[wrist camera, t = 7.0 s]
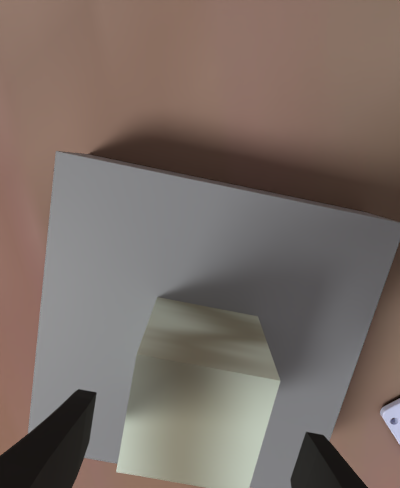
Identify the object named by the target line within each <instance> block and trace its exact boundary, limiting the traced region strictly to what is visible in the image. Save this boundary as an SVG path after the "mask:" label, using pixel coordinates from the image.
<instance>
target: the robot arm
mask: <svg viewBox="0 0 400 488" xmlns="http://www.w3.org/2000/svg"><path fill="white" fill-rule="evenodd" d="M96 394H97V392H92V391H86V390H81V389H78V390H77V391H75V392H74V393H73V394H72V395H71V396H70V397H69V398H68V399H67V400H66V401H65V402H64V403H63V404H61V405H60V406H59V407H58V408H57V409H56V410H55V411H54V412H53V413H52V414H51V415H49V416H48V417H47V418H46V419H45V420H44V421H43V422H41V423H40V424H39V425H38V426H37V427H36V428H34V429H33V430H32V431H31V432H30V433H29V434H27V435H26V436H25V437H24V438H22V439H21V440H20V441H19V442H17V443H16V444H15V445H13V446H12V447H11V448H10V449H8V450H7V451H6V452H4V453H3V454H2V455H1V456H0V488H72V486H73V484H74V482H75V479H76V477H77V475H78V472H79V469H80V467H81V464H82V461H83V459H84V456H85V453H86V450H87V447H88V445H89V441H90V434H91V427H92V421H93V414H94V408H95V401H96ZM380 414H381V416H382V418H383V419H384V421H385V422H386V424H387V426H388V427H389V429H390V430H391V432H392V433H393V435H394V437H395V438H396V440H397V441H398V443H399V445H400V398H399V399H397V400H395V401H394V402H392V403H390V404H388V405H386V406H384V407H383V408H382V409H381V411H380ZM392 418H394V419H393V420H391V419H392ZM290 481H291V488H368V487H367V486H366V485H365V484H364V483H363V481H362V480H361V479H360V478H359V477H358V475H357V474H356V473H355V472H354V471H353V469H352V468H351V467H350V466H349V465H348V463H347V462H346V461H345V460H344V459H343V457H342V456H341V455H340V454H339V452H338V451H337V450H336V449H335V448H334V446H333V445H332V444H331V443H330V442H329V441H328V439H327V438H326V437H325V436H324V435H321V434H316V433H311V432H306V433H305V436H304V439H303V442H302V445H301V448H300V452H299V455H298V458H297V461H296V464H295V467H294V470H293V473H292V476H291V479H290Z"/></svg>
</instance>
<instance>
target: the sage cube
mask: <svg viewBox="0 0 400 488" xmlns="http://www.w3.org/2000/svg"><path fill="white" fill-rule="evenodd" d="M279 384H280V378H279V375H278V372H277V369H276V367H275V364H274V361H273V358H272V355H271V352H270V349H269V347H268V344H267V341H266V338H265V335H264V332H263V329H262V327H261V324H260V321H259V318H258V316H254V315H248V314H243V313H238V312H233V311H227V310H222V309H217V308H212V307H207V306H201V305H196V304H191V303H186V302H181V301H175V300H170V299H165V298H160V297H157V299H156V302H155V305H154V307H153V310H152V313H151V316H150V318H149V321H148V324H147V327H146V330H145V332H144V335H143V338H142V341H141V343H140V346H139V349H138V352H137V355H136V361H135V366H134V372H133V378H132V384H131V389H130V395H129V401H128V407H127V413H126V418H125V424H124V430H123V436H122V441H121V447H120V453H119V459H118V464H117V470H116V472H120V473H125V474H131V475H137V476H143V477H148V478H154V479H160V480H166V481H171V482H177V483H183V484H189V485H194V486H200V487H206V488H249V487H250V483H251V480H252V477H253V473H254V470H255V466H256V463H257V460H258V456H259V453H260V449H261V446H262V442H263V439H264V436H265V432H266V429H267V425H268V422H269V419H270V415H271V412H272V408H273V405H274V401H275V398H276V395H277V391H278V388H279Z"/></svg>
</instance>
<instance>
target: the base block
mask: <svg viewBox="0 0 400 488" xmlns="http://www.w3.org/2000/svg"><path fill="white" fill-rule="evenodd" d="M399 242H400V222H398V221H394V220H391V219H387V218H384V217H380V216H377V215H374V214H370V213H367V212H363V211H358V210H353V209H348V208H344V207H339V206H334V205H329V204H324V203H320V202H315V201H310V200H305V199H300V198H296V197H291V196H286V195H281V194H276V193H272V192H267V191H262V190H257V189H252V188H248V187H243V186H238V185H233V184H228V183H224V182H219V181H214V180H209V179H204V178H200V177H195V176H190V175H185V174H180V173H176V172H171V171H166V170H161V169H156V168H152V167H147V166H142V165H137V164H132V163H128V162H123V161H118V160H113V159H108V158H104V157H99V156H94V155H89V154H81V153H70V152H60V151H56V157H55V167H54V177H53V187H52V197H51V207H50V217H49V227H48V237H47V247H46V257H45V268H44V278H43V288H42V298H41V308H40V318H39V328H38V338H37V348H36V358H35V368H34V379H33V389H32V399H31V409H30V419H29V429H28V434H29V433H30V432H31V431H32V430H33V429H34V428H36V427H37V426H38V425H39V424H40V423H41V422H43V421H44V420H45V419H46V418H47V417H48V416H49V415H51V414H52V413H53V412H54V411H55V410H56V409H57V408H58V407H59V406H60V405H61V404H63V403H64V402H65V401H66V400H67V399H68V398H69V397H70V396H71V395H72V394H73V393H74V392H75V391H77V390H78V389H81V390H86V391H92V392H97V394H96V401H95V408H94V414H93V421H92V427H91V434H90V441H89V445H88V447H87V450H86V453H85V456H84V458H89V459H94V460H100V461H105V462H111V463H117V464H118V459H119V453H120V447H121V441H122V436H123V430H124V424H125V418H126V413H127V407H128V401H129V395H130V389H131V384H132V378H133V372H134V366H135V361H136V355H137V352H138V349H139V346H140V343H141V341H142V338H143V335H144V332H145V330H146V327H147V324H148V321H149V318H150V316H151V313H152V310H153V307H154V305H155V302H156V299H157V297H160V298H165V299H170V300H175V301H181V302H186V303H191V304H196V305H201V306H207V307H212V308H217V309H222V310H227V311H233V312H238V313H243V314H248V315H254V316H258V318H259V321H260V324H261V327H262V329H263V332H264V335H265V338H266V341H267V344H268V347H269V349H270V352H271V355H272V358H273V361H274V364H275V367H276V369H277V372H278V375H279V378H280V384H279V388H278V391H277V395H276V398H275V401H274V405H273V408H272V412H271V415H270V419H269V422H268V425H267V429H266V432H265V436H264V439H263V442H262V446H261V449H260V453H259V456H258V460H257V463H256V466H255V470H254V473H253V477H252V480H251V483H250V487H251V488H291V481H290V479H291V476H292V473H293V470H294V467H295V464H296V461H297V458H298V455H299V452H300V448H301V445H302V442H303V439H304V436H305V433H306V432H311V433H316V434H321V435H324V436H325V437H326V438H327V439H328V441H329V440H330V437H331V434H332V432H333V429H334V426H335V423H336V420H337V417H338V415H339V412H340V409H341V406H342V403H343V400H344V398H345V395H346V392H347V389H348V386H349V383H350V381H351V378H352V375H353V372H354V369H355V366H356V364H357V361H358V358H359V355H360V352H361V349H362V347H363V344H364V341H365V338H366V335H367V332H368V330H369V327H370V324H371V321H372V318H373V315H374V313H375V310H376V307H377V304H378V301H379V299H380V296H381V293H382V290H383V287H384V284H385V282H386V279H387V276H388V273H389V270H390V267H391V265H392V262H393V259H394V256H395V253H396V250H397V248H398V245H399Z"/></svg>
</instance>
